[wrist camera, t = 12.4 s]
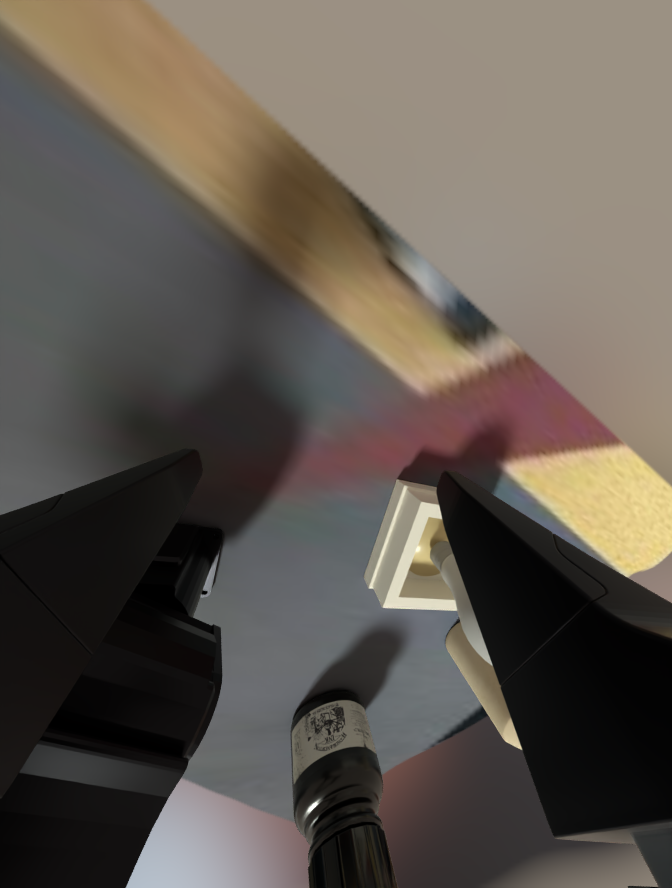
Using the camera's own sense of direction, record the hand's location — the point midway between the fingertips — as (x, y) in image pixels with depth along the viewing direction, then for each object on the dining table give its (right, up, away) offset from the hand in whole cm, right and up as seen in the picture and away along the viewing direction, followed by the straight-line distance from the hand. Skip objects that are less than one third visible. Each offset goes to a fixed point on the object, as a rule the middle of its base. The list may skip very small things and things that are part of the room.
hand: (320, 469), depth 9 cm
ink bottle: (0, -32, +21) cm, 38 cm away
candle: (+17, -23, +23) cm, 37 cm away
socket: (+10, -9, +17) cm, 22 cm away
